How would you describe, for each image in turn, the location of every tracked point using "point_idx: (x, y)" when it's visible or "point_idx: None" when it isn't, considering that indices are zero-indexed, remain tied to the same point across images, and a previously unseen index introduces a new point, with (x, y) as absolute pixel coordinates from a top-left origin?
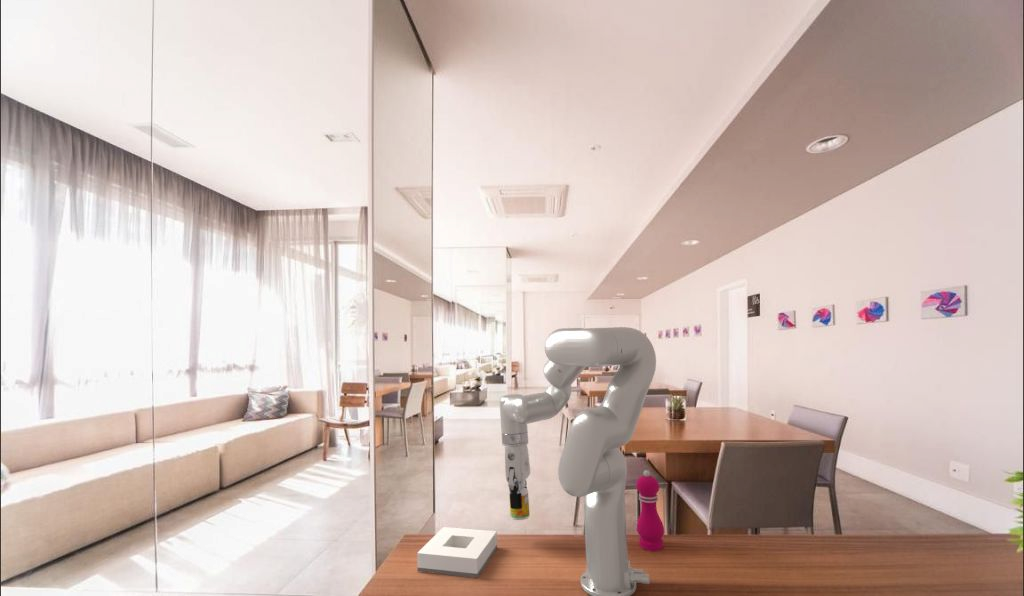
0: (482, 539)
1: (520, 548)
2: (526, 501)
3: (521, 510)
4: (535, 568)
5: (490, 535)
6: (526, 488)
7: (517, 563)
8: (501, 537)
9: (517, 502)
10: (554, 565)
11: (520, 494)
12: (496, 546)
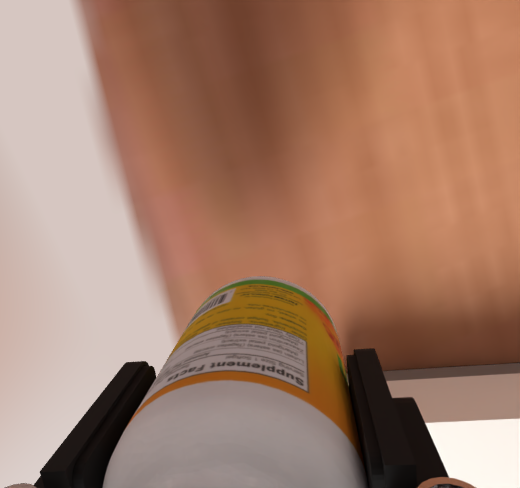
0: (483, 461)
1: (313, 269)
2: (280, 342)
3: (335, 344)
4: (503, 124)
5: None
6: (76, 451)
7: (470, 230)
8: None
9: (421, 421)
10: (451, 34)
11: (410, 460)
12: None
